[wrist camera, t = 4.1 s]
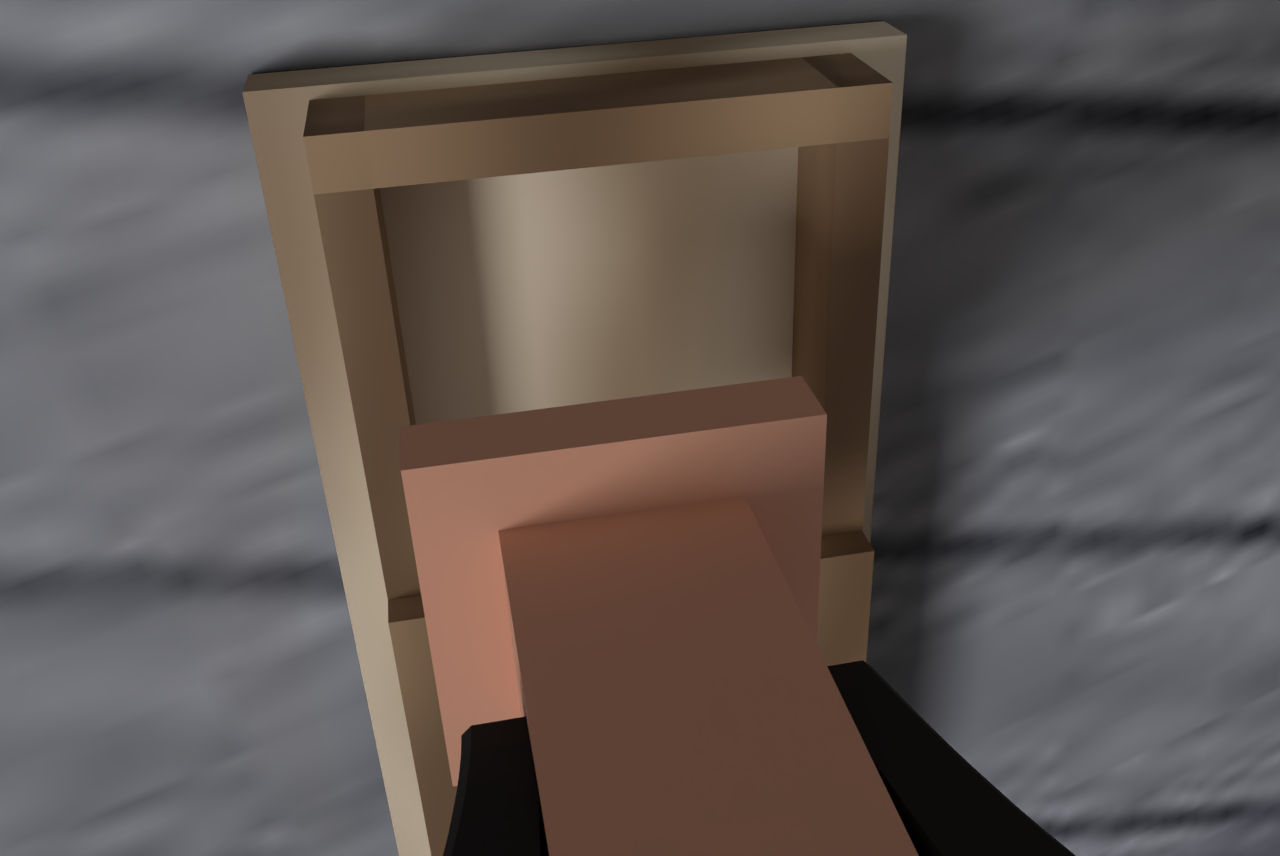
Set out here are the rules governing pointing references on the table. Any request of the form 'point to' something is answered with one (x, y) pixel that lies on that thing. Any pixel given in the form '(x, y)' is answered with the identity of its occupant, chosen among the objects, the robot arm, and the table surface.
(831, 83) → the keyhole board
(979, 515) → the table surface
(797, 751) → the key peg
